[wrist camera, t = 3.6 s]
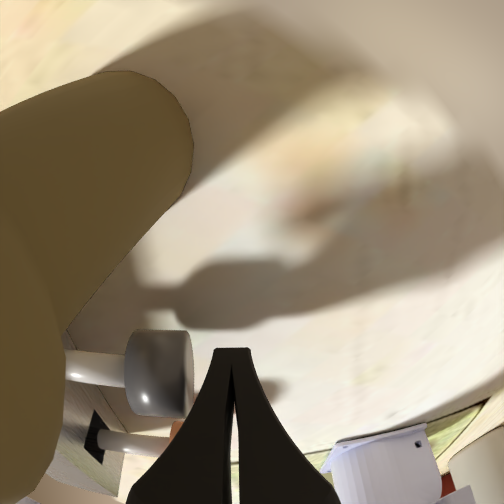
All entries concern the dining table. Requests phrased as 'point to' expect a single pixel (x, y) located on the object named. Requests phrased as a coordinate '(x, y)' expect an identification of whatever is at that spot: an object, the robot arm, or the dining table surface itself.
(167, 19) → the dining table surface
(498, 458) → the cylinder vase
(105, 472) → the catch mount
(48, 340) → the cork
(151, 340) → the gray knob
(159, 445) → the terracotta knob
